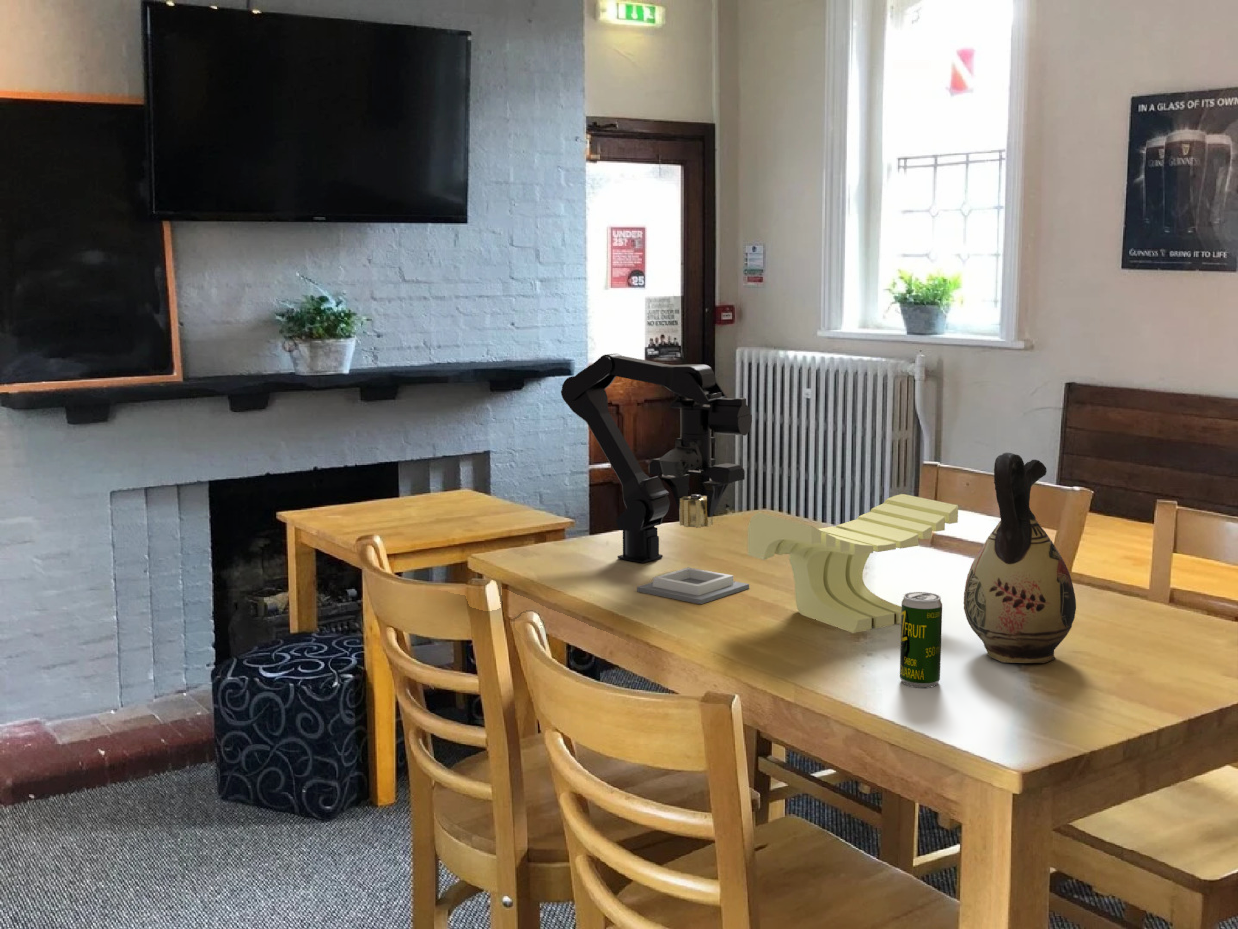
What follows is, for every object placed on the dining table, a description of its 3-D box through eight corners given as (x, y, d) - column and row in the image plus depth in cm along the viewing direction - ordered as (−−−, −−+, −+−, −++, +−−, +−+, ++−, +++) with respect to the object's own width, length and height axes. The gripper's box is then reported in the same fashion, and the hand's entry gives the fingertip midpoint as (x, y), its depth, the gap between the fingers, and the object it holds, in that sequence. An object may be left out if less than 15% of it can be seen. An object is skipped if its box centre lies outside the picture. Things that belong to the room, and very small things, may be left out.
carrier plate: (636, 591, 228) (636, 578, 228) (686, 576, 239) (686, 563, 238) (700, 604, 219) (700, 590, 219) (749, 588, 230) (749, 575, 229)
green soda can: (911, 673, 181) (913, 589, 180) (947, 681, 178) (949, 595, 176) (892, 683, 177) (894, 597, 175) (928, 691, 174) (931, 603, 172)
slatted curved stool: (887, 592, 226) (890, 491, 223) (954, 613, 212) (958, 505, 210) (747, 617, 211) (747, 509, 208) (809, 641, 197) (811, 525, 195)
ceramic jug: (988, 635, 200) (995, 440, 195) (1089, 653, 190) (1098, 449, 186) (938, 661, 187) (944, 454, 182) (1044, 682, 177) (1053, 463, 173)
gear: (673, 525, 246) (672, 495, 245) (693, 520, 250) (693, 491, 249) (699, 529, 242) (699, 499, 241) (719, 524, 246) (719, 494, 245)
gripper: (629, 433, 243) (630, 515, 246) (709, 441, 231) (710, 527, 234) (667, 427, 252) (667, 507, 254) (746, 434, 240) (746, 518, 242)
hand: (696, 515), depth 246 cm, fingers closed on gear, 6 cm apart
